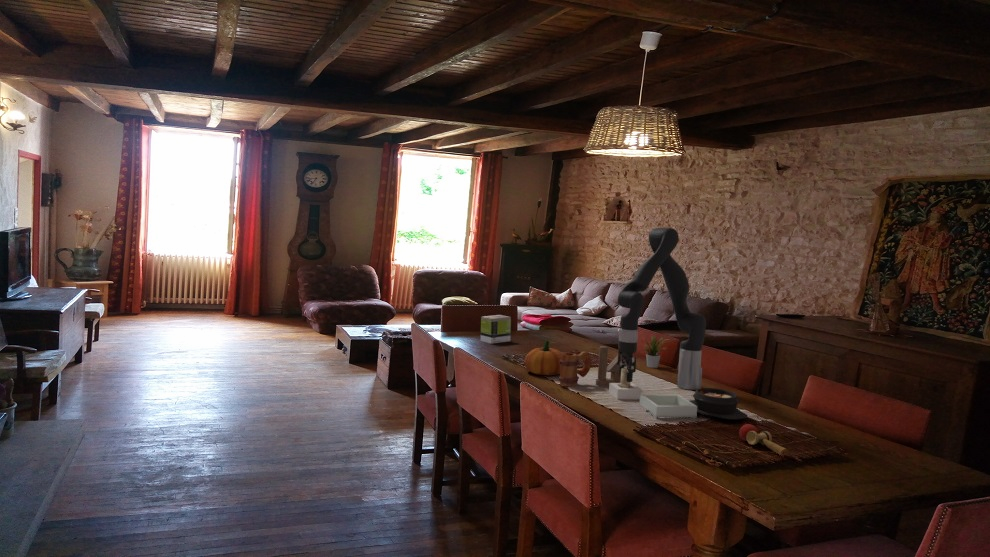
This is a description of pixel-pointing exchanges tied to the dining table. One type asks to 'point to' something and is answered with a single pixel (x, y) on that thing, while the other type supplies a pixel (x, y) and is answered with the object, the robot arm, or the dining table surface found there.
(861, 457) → the dining table surface
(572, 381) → the mug
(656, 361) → the house plant
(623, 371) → the dowel
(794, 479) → the dining table surface
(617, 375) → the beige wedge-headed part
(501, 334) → the tea box
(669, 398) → the tray
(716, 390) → the casserole
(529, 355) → the pumpkin
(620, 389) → the holder
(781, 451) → the kendama
